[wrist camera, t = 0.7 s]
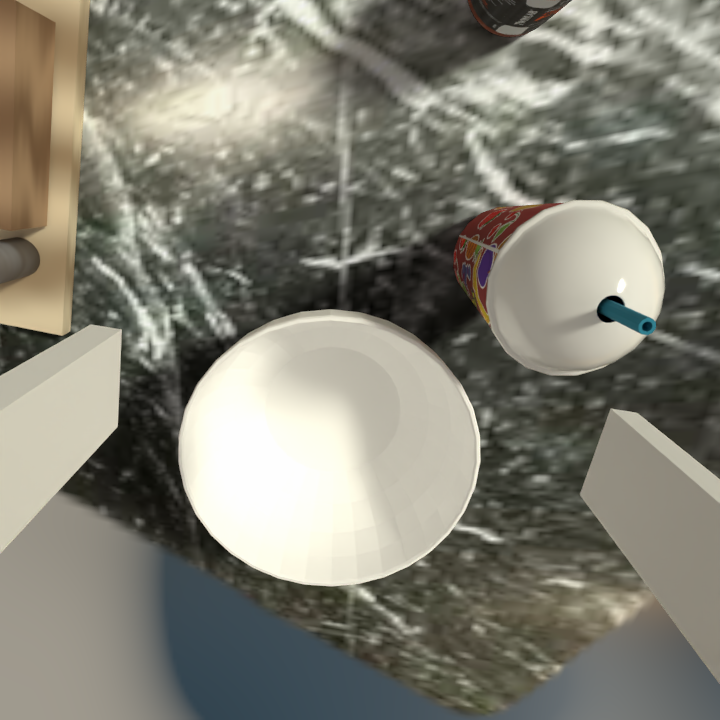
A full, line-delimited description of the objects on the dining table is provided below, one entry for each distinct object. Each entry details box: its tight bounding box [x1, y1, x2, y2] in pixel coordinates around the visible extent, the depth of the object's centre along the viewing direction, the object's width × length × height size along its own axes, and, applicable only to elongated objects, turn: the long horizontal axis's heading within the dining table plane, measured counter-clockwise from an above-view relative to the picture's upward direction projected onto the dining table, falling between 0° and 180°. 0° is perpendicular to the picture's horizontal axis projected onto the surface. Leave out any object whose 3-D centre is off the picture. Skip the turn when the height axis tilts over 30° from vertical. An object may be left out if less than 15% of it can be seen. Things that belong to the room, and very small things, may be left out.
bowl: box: [178, 309, 480, 586], centre depth 37 cm, size 19×19×9 cm
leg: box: [0, 0, 56, 231], centre depth 31 cm, size 12×4×4 cm, turn 167°
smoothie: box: [453, 200, 665, 376], centre depth 29 cm, size 8×8×20 cm
